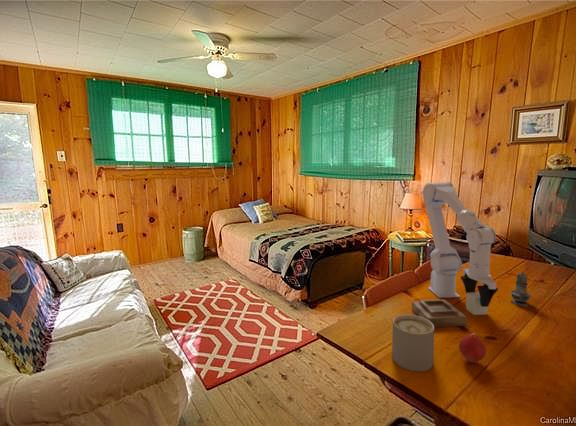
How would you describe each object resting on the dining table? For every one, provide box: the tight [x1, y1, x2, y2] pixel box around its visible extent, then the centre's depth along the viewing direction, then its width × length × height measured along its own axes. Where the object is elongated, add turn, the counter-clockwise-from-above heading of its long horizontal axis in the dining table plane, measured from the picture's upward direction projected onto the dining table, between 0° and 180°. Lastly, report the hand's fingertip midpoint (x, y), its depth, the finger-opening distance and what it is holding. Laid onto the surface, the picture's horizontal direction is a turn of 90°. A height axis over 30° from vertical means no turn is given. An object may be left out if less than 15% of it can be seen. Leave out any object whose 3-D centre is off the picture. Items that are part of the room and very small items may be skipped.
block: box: [465, 291, 489, 316], centre depth 102 cm, size 4×4×6 cm
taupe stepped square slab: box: [411, 298, 467, 328], centre depth 99 cm, size 12×12×4 cm
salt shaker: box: [510, 271, 532, 307], centre depth 106 cm, size 6×6×12 cm
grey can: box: [391, 313, 435, 372], centre depth 78 cm, size 13×10×10 cm
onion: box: [458, 333, 487, 364], centre depth 76 cm, size 6×6×8 cm
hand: (477, 301), depth 101 cm, fingers open, 7 cm apart
